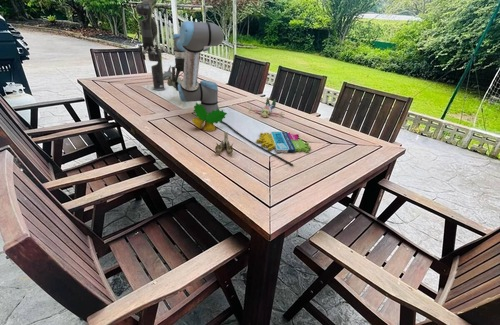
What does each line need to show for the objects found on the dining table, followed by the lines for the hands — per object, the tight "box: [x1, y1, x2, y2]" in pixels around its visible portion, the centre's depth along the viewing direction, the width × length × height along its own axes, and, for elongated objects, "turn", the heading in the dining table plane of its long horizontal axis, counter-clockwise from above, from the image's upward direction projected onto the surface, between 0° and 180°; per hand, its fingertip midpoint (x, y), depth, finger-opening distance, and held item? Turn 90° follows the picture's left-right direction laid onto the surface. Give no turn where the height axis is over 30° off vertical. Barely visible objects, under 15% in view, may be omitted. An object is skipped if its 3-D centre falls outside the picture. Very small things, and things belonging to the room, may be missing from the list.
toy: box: [247, 97, 285, 118], centre depth 199 cm, size 28×7×30 cm
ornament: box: [191, 101, 228, 132], centre depth 162 cm, size 21×8×15 cm, turn 105°
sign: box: [256, 131, 312, 154], centre depth 152 cm, size 26×2×30 cm
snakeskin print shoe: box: [166, 76, 182, 90], centre depth 202 cm, size 8×25×9 cm, turn 40°
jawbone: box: [214, 131, 234, 156], centre depth 136 cm, size 9×15×10 cm
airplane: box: [163, 65, 181, 80], centre depth 275 cm, size 38×31×10 cm
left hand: (149, 59), depth 199 cm, fingers open, 8 cm apart
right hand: (182, 90), depth 198 cm, fingers closed on snakeskin print shoe, 7 cm apart
